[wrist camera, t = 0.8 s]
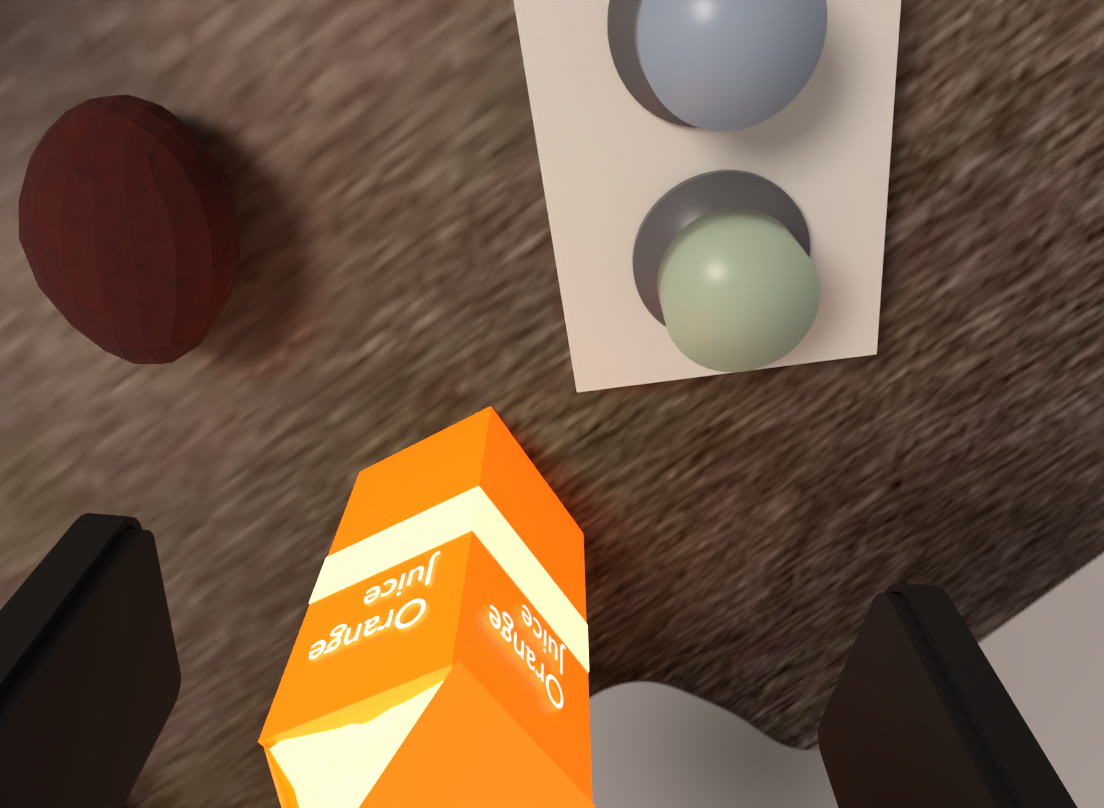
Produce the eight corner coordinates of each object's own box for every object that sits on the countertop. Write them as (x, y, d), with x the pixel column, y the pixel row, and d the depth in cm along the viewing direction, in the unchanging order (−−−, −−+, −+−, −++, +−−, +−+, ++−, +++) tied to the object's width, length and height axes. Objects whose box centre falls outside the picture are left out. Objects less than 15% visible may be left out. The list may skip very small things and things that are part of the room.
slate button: (806, -89, 21) (829, -90, 19) (804, 101, 24) (824, 116, 22) (625, -56, 22) (631, -55, 20) (642, 127, 24) (649, 143, 22)
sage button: (803, 197, 25) (822, 218, 24) (801, 333, 28) (818, 362, 26) (650, 219, 26) (657, 242, 24) (662, 351, 28) (669, 381, 27)
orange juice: (458, 588, 41) (383, 1054, 24) (356, 471, 37) (180, 929, 20) (587, 532, 39) (606, 1000, 22) (493, 402, 35) (428, 848, 18)
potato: (261, 98, 29) (194, 136, 23) (264, 341, 34) (210, 417, 28) (56, 59, 28) (-62, 89, 23) (91, 312, 33) (2, 385, 28)
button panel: (905, -597, 20) (956, -676, 17) (856, 326, 33) (881, 360, 30) (441, -488, 21) (423, -547, 18) (575, 363, 34) (577, 398, 31)
